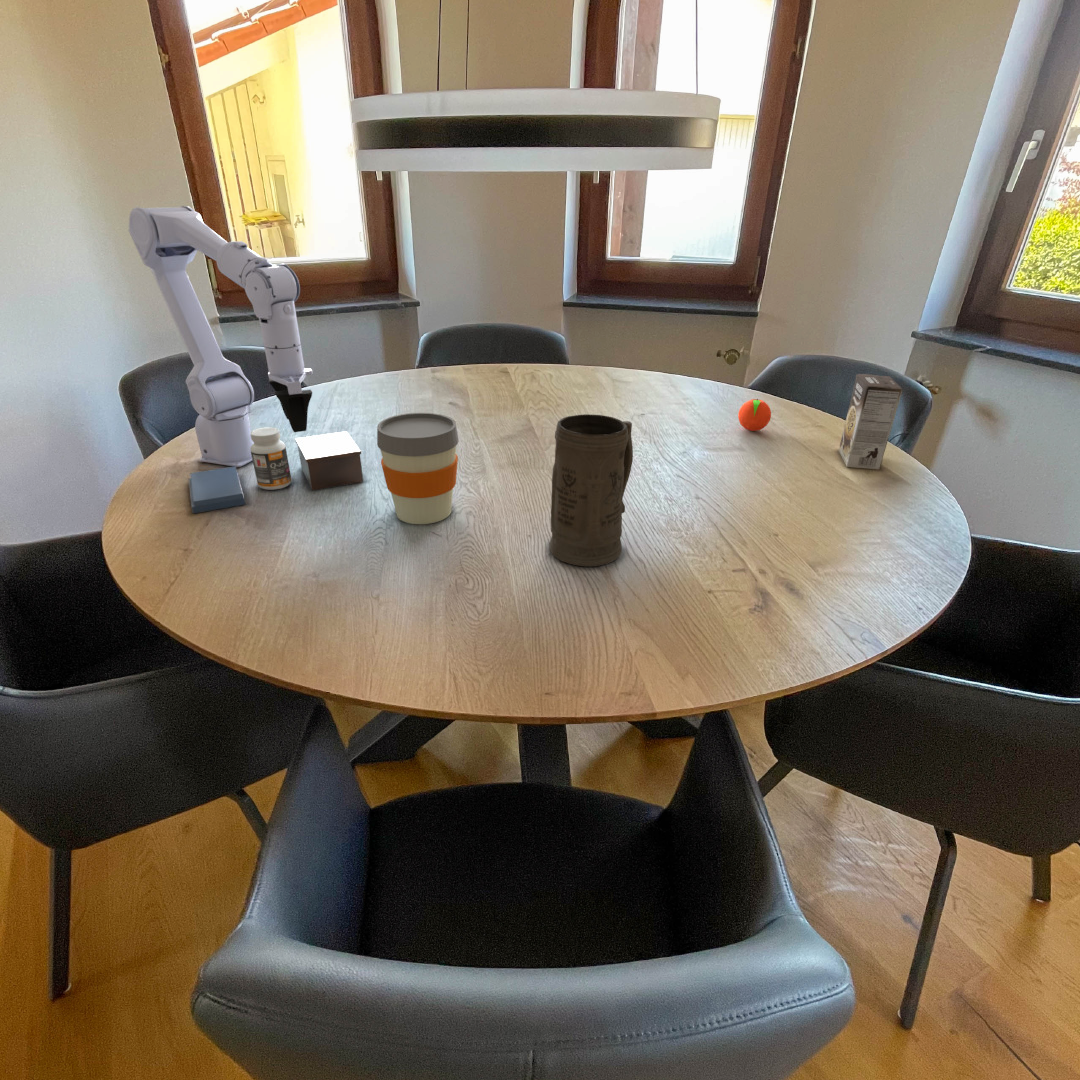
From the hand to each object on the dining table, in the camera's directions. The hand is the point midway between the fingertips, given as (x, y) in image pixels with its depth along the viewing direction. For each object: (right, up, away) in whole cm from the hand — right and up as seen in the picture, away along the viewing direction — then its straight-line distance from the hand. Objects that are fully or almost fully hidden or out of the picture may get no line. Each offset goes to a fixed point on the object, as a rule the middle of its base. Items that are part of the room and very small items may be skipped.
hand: (296, 424), depth 115 cm
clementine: (+90, +4, +32) cm, 95 cm away
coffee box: (+106, -4, +17) cm, 108 cm away
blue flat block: (-13, -12, -1) cm, 18 cm away
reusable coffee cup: (+23, -16, -6) cm, 29 cm away
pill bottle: (-5, -10, +3) cm, 12 cm away
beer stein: (+51, -21, -15) cm, 57 cm away
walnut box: (+4, -8, +7) cm, 11 cm away
